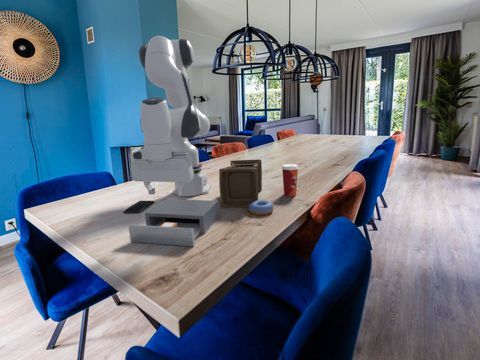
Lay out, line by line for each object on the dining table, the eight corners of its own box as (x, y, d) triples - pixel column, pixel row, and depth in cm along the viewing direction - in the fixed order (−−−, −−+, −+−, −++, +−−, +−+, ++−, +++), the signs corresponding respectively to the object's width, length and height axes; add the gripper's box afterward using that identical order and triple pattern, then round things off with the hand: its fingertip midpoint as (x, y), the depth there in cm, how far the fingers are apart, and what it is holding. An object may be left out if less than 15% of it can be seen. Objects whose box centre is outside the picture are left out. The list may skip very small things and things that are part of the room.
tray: (155, 223, 110) (153, 209, 109) (210, 226, 105) (209, 211, 104) (130, 242, 96) (128, 225, 94) (193, 246, 90) (191, 229, 89)
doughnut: (271, 216, 112) (270, 204, 111) (245, 216, 115) (245, 204, 114) (275, 210, 121) (275, 199, 120) (252, 209, 124) (251, 199, 123)
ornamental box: (235, 190, 159) (229, 157, 155) (267, 186, 156) (262, 152, 152) (222, 211, 125) (213, 169, 121) (262, 206, 122) (255, 163, 118)
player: (168, 214, 120) (166, 198, 118) (219, 216, 115) (218, 200, 113) (147, 230, 105) (144, 213, 103) (204, 233, 100) (203, 215, 98)
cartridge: (166, 231, 101) (164, 221, 100) (178, 232, 100) (177, 222, 99) (158, 237, 96) (157, 227, 95) (171, 238, 95) (170, 228, 94)
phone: (155, 200, 136) (139, 212, 122) (155, 202, 136) (139, 214, 122) (139, 200, 137) (121, 211, 123) (139, 202, 138) (122, 214, 123)
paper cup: (297, 197, 134) (297, 167, 130) (280, 196, 136) (280, 166, 133) (299, 192, 141) (299, 163, 137) (283, 191, 143) (283, 163, 140)
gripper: (194, 150, 91) (198, 192, 95) (137, 150, 96) (142, 190, 100) (186, 153, 85) (191, 198, 89) (125, 154, 90) (132, 196, 94)
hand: (165, 194), depth 95 cm, fingers open, 8 cm apart
